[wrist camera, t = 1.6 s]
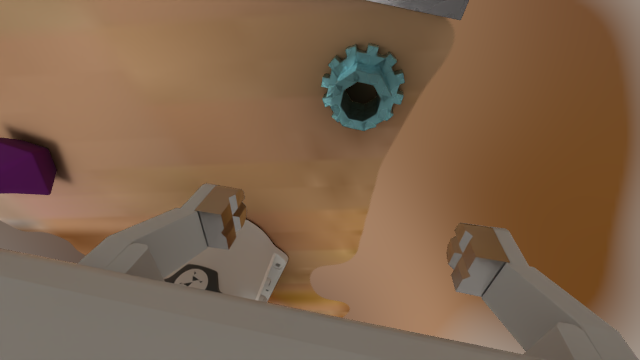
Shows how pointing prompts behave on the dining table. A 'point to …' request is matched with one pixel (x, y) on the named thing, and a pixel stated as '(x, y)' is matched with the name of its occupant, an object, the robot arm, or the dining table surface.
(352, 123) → the planet gear
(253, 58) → the dining table surface
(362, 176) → the dining table surface
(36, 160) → the perfume bottle
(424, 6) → the carrier plate
